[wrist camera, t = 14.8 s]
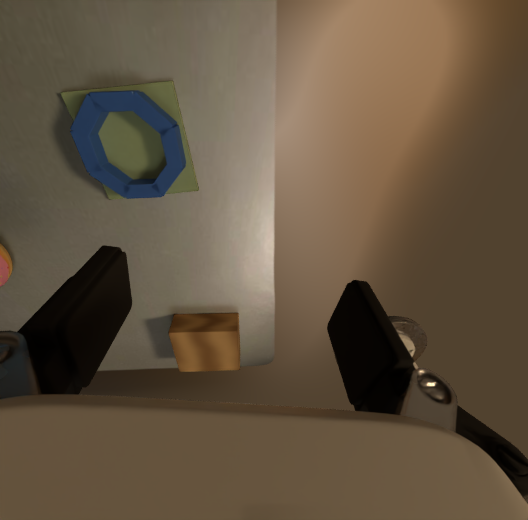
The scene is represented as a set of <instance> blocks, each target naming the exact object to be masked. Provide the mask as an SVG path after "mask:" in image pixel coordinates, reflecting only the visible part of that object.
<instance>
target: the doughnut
mask: <svg viewBox="0 0 528 520" xmlns="http://www.w3.org/2000/svg"><path fill="white" fill-rule="evenodd" d="M12 269H13V265H12V260H11V257H10V255H9V253H8V252H7V250H6V249H5V248H4V246H3V245H2V244H1V243H0V287H1V286H2V285H4V284H5V283H6V282H7V280H8V278H9V277H10V275H11V273H12Z"/></svg>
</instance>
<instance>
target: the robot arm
mask: <svg viewBox="0 0 528 520" xmlns="http://www.w3.org/2000/svg"><path fill="white" fill-rule="evenodd" d="M131 306H132V297H131V289H130V281H129V273H128V265H127V257H126V253H125V252H122V250H121V248H119V247H112V246H102V247H101V248H100V249H99V250H98V251H97V252H96V253H95V254H94V255H93V256H92V257H91V258H90V259H89V260H88V261H87V262H86V263H85V264H84V266H83V267H82V268H81V269H80V270H79V271H78V272H77V273H76V274H75V275H74V276H72V277H70V278H69V279H68V280H67V281H66V282H65V283H64V284H63V285H62V286H61V287H60V288H59V289H58V290H57V291H56V292H55V293H54V294H53V295H52V296H51V298H50V299H49V300H48V301H47V302H46V303H45V304H44V305H43V306H42V307H41V308H40V309H39V310H38V311H37V312H36V313H35V314H34V315H33V316H32V317H31V318H30V319H29V320H28V321H27V322H26V323H25V324H24V325H23V326H22V328H21V329H20V330H19V331H18V332H14V331H0V520H528V459H527V458H526V457H525V456H524V455H523V454H522V453H521V452H520V451H519V450H518V449H517V448H516V447H515V446H514V445H512V444H511V443H510V442H509V441H507V440H506V439H504V438H503V437H501V436H500V435H499V434H497V433H496V432H494V431H493V430H492V429H490V428H489V427H487V426H486V425H485V424H483V423H482V422H480V421H479V420H478V419H476V418H475V417H473V416H472V415H470V414H469V413H468V412H466V411H465V410H463V409H462V408H461V407H459V406H458V405H457V396H456V394H455V392H454V390H453V389H452V387H451V386H450V385H449V383H447V381H445V379H444V378H442V377H441V376H440V375H438V374H437V373H435V372H433V371H431V370H428V369H425V368H418V367H417V365H416V363H415V361H414V360H413V358H412V356H413V355H414V352H415V346H414V344H413V342H412V341H411V339H410V338H409V337H407V336H405V335H403V334H399V333H397V331H396V329H395V328H394V326H393V324H392V323H391V321H390V319H389V318H388V316H387V314H386V312H385V311H384V309H383V307H382V306H381V304H380V302H379V301H378V299H377V297H376V296H375V294H374V292H373V291H372V289H371V287H370V285H369V284H368V283H367V282H364V281H358V280H353V281H352V282H351V283H348V284H347V286H346V288H345V290H344V292H343V294H342V296H341V298H340V300H339V302H338V304H337V306H336V308H335V310H334V312H333V314H332V316H331V319H330V321H329V323H328V327H327V330H328V334H329V337H330V340H331V344H332V347H333V350H334V353H335V357H336V360H337V363H338V366H339V370H340V373H341V376H342V379H343V382H344V386H345V389H346V392H347V395H348V399H349V401H350V403H351V404H353V405H354V408H355V411H350V410H336V409H321V408H320V409H319V408H306V407H291V406H275V405H260V404H244V403H226V402H211V401H194V400H176V399H158V398H141V397H123V396H97V395H79V393H80V391H81V389H82V387H87V386H88V385H89V384H90V382H91V380H92V379H93V377H94V375H95V373H96V371H97V370H98V368H99V366H100V364H101V362H102V360H103V359H104V357H105V355H106V353H107V351H108V350H109V348H110V346H111V344H112V342H113V341H114V339H115V337H116V335H117V333H118V331H119V330H120V328H121V326H122V324H123V322H124V321H125V319H126V317H127V315H128V313H129V312H130V309H131Z"/></svg>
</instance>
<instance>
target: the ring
mask: <svg viewBox="0 0 528 520" xmlns="http://www.w3.org/2000/svg"><path fill="white" fill-rule="evenodd" d="M118 111H133V112H134V113H136V114H137V115H138V116H139V117H140V118H142V119H143V120H144V121H145V122H146V123H148V124H149V125H150V126H151V127H152V128H154V129H155V130H156V131H157V132H158V133H159V134H160V137H161V141H162V145H163V149H164V153H165V158H166V162H167V164H166V166H165V167H164V169H163V170H162V172H161V173H160V174H159V176H158V177H157V178H155V179H132V178H130V177H129V176H128V175H126V174H125V173H123V172H122V171H121V170H119V169H118V168H116V167H115V166H114V165H112V164H111V163H109V162H108V159H107V156H106V153H105V151H104V148H103V145H102V142H101V140H100V137H99V134H98V133H99V131H100V129H101V127H102V125H103V123H104V121H105V120H106V118H107V116H108V114H109V112H118ZM176 124H177V121H175V120H174V119H173V118H172V117H171V116H170V115H169V114H167V113H166V112H165V111H164V110H163V109H162V108H161V107H160V106H158V105H157V104H156V103H155V102H154V101H153V100H152V99H151V98H149V97H148V96H147V95H146V94H145V93H144V92H140V90H129V91H100V92H89V94H86V96H85V99H84V101H83V103H82V105H81V107H80V109H79V111H78V113H77V115H76V118H75V120H74V122H73V124H72V126H71V128H70V129H71V130H72V131H70V132H71V135H72V137H73V139H74V142H75V144H76V146H77V149H78V151H79V153H80V156H81V158H82V161H83V163H84V165H85V168H86V170H87V172H90V173H89V175H91V176H92V177H94V178H95V179H97V180H98V181H100V182H101V183H103V184H104V185H106V186H107V187H109V188H110V189H112V190H113V191H115V192H116V193H118V194H119V195H121V196H122V197H124V198H125V197H126V198H127V199H130V198H153V197H162V196H164V195H165V193H166V192H167V191H168V189H169V188H170V187H171V185H172V184H173V183H174V181H175V180H176V179H177V177H178V176H179V175H180V173H181V172H182V171H183V169H184V168H185V167H186V158H185V153H184V148H183V143H182V138H181V133H180V128H179V125H176Z"/></svg>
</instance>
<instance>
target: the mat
mask: <svg viewBox="0 0 528 520" xmlns="http://www.w3.org/2000/svg"><path fill="white" fill-rule="evenodd" d="M129 90H140V92H144V93H145V94H146V95H147V96H148V97H149V98H151V99H152V100H153V101H154V102H155V103H156V104H157V105H158V106H160V107H161V108H162V109H163V110H164V111H165V112H166V113H167V114H169V115H170V116H171V117H172V118H173V119H174V120H175V121H177V124H176V125H179V128H180V133H181V138H182V143H183V148H184V153H185V158H186V167H185V168H184V169H183V171H182V172H181V173H180V175H179V176H178V177H177V179H176V180H175V181H174V183H173V184H172V185H171V187H170V188H169V189H168V191H167V192H166V193H165V194H170V193H180V192H190V191H198V190H199V188H198V183H197V179H196V175H195V171H194V167H193V163H192V158H191V154H190V150H189V146H188V142H187V138H186V133H185V129H184V125H183V121H182V117H181V113H180V108H179V104H178V100H177V96H176V92H175V88H174V83H173V81H165V82H155V83H146V84H137V85H127V86H118V87H108V88H99V89H89V90H80V91H70V92H61V96H62V98H63V100H64V102H65V104H66V107H67V109H68V111H69V113H70V115H71V117H72V120H73V122H74V120H75V118H76V115H77V113H78V111H79V109H80V107H81V105H82V103H83V101H84V99H85V96H86V94H89V92H100V91H129ZM98 134H99V137H100V140H101V142H102V145H103V148H104V151H105V153H106V156H107V159H108V162H109V163H111V164H112V165H114V166H115V167H116V168H118V169H119V170H121V171H122V172H123V173H125V174H126V175H128V176H129V177H130V178H132V179H155V178H157V177H158V176H159V174H160V173H161V172H162V170H163V169H164V167H165V166H166V164H167V162H166V158H165V153H164V149H163V145H162V141H161V137H160V134H159V133H158V132H157V131H156V130H155V129H154V128H152V127H151V126H150V125H149V124H148V123H146V122H145V121H144V120H143V119H142V118H140V117H139V116H138V115H137V114H136V113H134V112H133V111H118V112H109V114H108V116H107V118H106V120H105V121H104V123H103V125H102V127H101V129H100V131H99V133H98ZM102 185H103V187H104V189H105V191H106V193H107V196H108V198H109V200H111V199H121V198H124V197H122V196H121V195H119V194H118V193H116V192H115V191H113V190H112V189H110V188H109V187H107V186H106V185H104V184H103V183H102ZM125 198H126V197H125Z"/></svg>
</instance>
